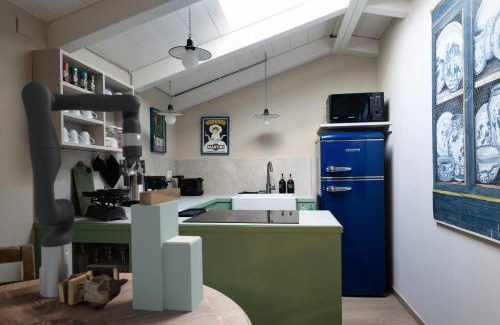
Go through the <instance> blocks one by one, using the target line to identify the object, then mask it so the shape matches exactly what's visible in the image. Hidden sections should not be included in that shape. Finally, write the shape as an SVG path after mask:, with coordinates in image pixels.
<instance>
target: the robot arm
mask: <svg viewBox="0 0 500 325" xmlns="http://www.w3.org/2000/svg"><path fill="white" fill-rule="evenodd" d="M20 97H21V100H22V104H23V107H24V111H25V114H26V115H25V116H26V120H27V121H26V122H27V136H28V145H29V146H28V148H29V150H28V151H29V156H30V163H31V168H32V169H31V170H32V177H33V178H32V179H33V180H32V181H33V189H34V190H33V195H34V201H33V202H34V216H35V220H36V222H37V223H38V225H39V226H41V227H43V228H49V227H51V229H50V230H49V231H48V233H47V234H46V235H44V236H43V237H42V238H41V242H40V243H41V246H40V247H41V249H40V250H41V266H40V267H39V270H38V271H39V276H38V277H39V278H38V279H39V280H38V281H39V295H40V296H42V298H43V297H44V298H57V297H60V296H59V287H58V284H57V283H59V282H61V281H63V280H65V279H67V278H69V277H70V275H73V248H72V247H73V246H72V244H73V243H72V238H73V236H74V233H75V218H76V216H75V214H76V212H75V206H74V204H73V202H72V201H71V200H69V199H67V198H55V183H56V182H55V181H56V178H57V177H58V174H59V172H60V169H61V167H62V152H61V145H60V141H59V139H58V134H57V132H56V128H55V127H54V123H53V119H52V112H60V111H61V112H63V111H83V112H99V113H100V112H101V113H113V112H121V115H122V116H121V118H122V124H121V126H122V128H121V129H122V130H121V132H122V138H121V147H122V148H121V149H122V150H121V151H122V157H123V158H124V159H123V158H122V159H119V162H118V175H119V176H122V178H123V186H124V187H130V186H131V184H130V183H131V180H130V178H131V177H130V176H131V173H132V172H134V173H135V174H136V185H137V186H142V185H143V176H144V175H145V174H146V172H147V171H146V161H145V159H141V158H142V157H143V138H142V130H141V129H142V127H141V122H140V121H141V120H140V108H141V100H140V98H138V96H136V95H134V94H127V93H123V94H121V93H120V94H110V93H109V94H108V93H95V92H91V93H90V92H88V93H87V92H85V93H84V92H83V93H75V94H74V93H73V94H67V93H66V94H65V93H58V92H53V91H51V90H50V88H49V87H47V86H46V85H45V84H43V83H41V82H39V81H30V82H28V83H26V84H25V85H24V86H23V87H22V90H21V93H20Z"/></svg>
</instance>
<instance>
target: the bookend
mask: <svg viewBox="0 0 500 325" xmlns="http://www.w3.org/2000/svg"><path fill="white" fill-rule="evenodd" d="M128 282H129V279H127V278H121V279H120V269H119V265H116V264H115V265H114V264H111V265H110V264H109V265H108V264H105V265H104V264H88V265H86V266H85V267H84V272H80V273H77V274H72V275H70V277H69V278H67V279H65V280H63V281H61V282H59V283H57V284H58V287H59V296H58V297H59V302H60V304H61V303H64V304H67V305H68V306H73V305H76V304H77V303H80V302H81V303H85V302H88V305H89V307H91V308H101V307H104V306H106V305H107V304H108V303H110V302H112V301H113V300H114V299H116V298H117V297H118V296H119V295H120V293H121V292H122V287H123V286H124V285H126V284H127V283H128Z"/></svg>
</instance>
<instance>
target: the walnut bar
mask: <svg viewBox="0 0 500 325" xmlns="http://www.w3.org/2000/svg"><path fill="white" fill-rule="evenodd" d="M138 199H139V201H138V202H139V203H138V204H139V205H155V204H160V203H164V202H168V201H178V200H180V199H181V188H180V187H168V188H163V189H162V188H160V189H155V190H148V191H147V190H146V191H140V192H139V194H138Z"/></svg>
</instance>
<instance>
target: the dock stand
mask: <svg viewBox="0 0 500 325" xmlns="http://www.w3.org/2000/svg"><path fill="white" fill-rule="evenodd" d="M130 220H131V221H130V225H131V226H130V227H131V230H130V233H131V236H130V238H131V281H132V282H131V283H132V284H131V286H132V287H131V288H132V310H140V311H142V310H143V311H153V312H163V311H165V310H168V311H169V310H170V311H181V312H193V311H194V310H195V309H196V308H197V307H198V306H199V304H201V302H202V301H203V300H204V287H203V284H204V283H203V278H204V277H203V248H202V247H203V240H202V239H203V238H202V237H201V236H199V235H197V236H196V235H195V236H194V235H179V234H180V233H179V202H178V200H173V201H168V202H164V203H160V204H155V205H139V203H136V204H131V205H130Z"/></svg>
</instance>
